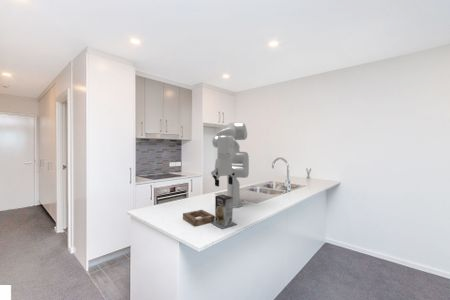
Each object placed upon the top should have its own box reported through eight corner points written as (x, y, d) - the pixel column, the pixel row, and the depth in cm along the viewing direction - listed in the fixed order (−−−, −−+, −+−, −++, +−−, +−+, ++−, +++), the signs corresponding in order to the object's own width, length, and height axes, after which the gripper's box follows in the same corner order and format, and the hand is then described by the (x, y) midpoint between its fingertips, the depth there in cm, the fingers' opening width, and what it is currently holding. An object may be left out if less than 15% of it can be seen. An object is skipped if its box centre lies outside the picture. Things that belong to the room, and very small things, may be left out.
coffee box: (214, 222, 126) (214, 195, 125) (222, 219, 130) (222, 194, 130) (225, 226, 119) (225, 198, 119) (233, 223, 123) (233, 196, 123)
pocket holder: (202, 214, 142) (202, 209, 142) (214, 221, 129) (214, 215, 129) (182, 218, 134) (182, 213, 134) (194, 226, 121) (194, 220, 121)
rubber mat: (225, 219, 132) (225, 218, 132) (236, 225, 123) (236, 224, 123) (211, 223, 126) (211, 222, 126) (221, 229, 117) (221, 228, 117)
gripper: (231, 155, 132) (231, 182, 132) (208, 156, 122) (208, 185, 122) (239, 156, 126) (239, 184, 126) (214, 157, 116) (215, 188, 116)
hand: (223, 185), depth 124 cm, fingers open, 9 cm apart
